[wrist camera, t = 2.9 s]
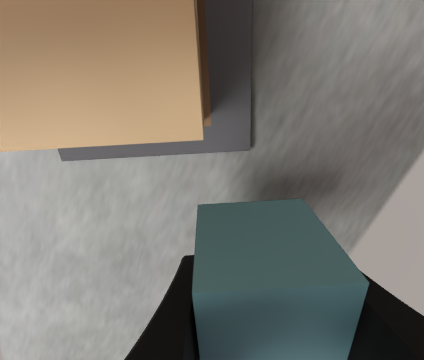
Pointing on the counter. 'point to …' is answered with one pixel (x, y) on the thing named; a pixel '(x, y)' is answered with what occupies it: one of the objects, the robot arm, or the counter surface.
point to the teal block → (272, 284)
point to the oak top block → (99, 73)
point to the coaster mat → (218, 85)
